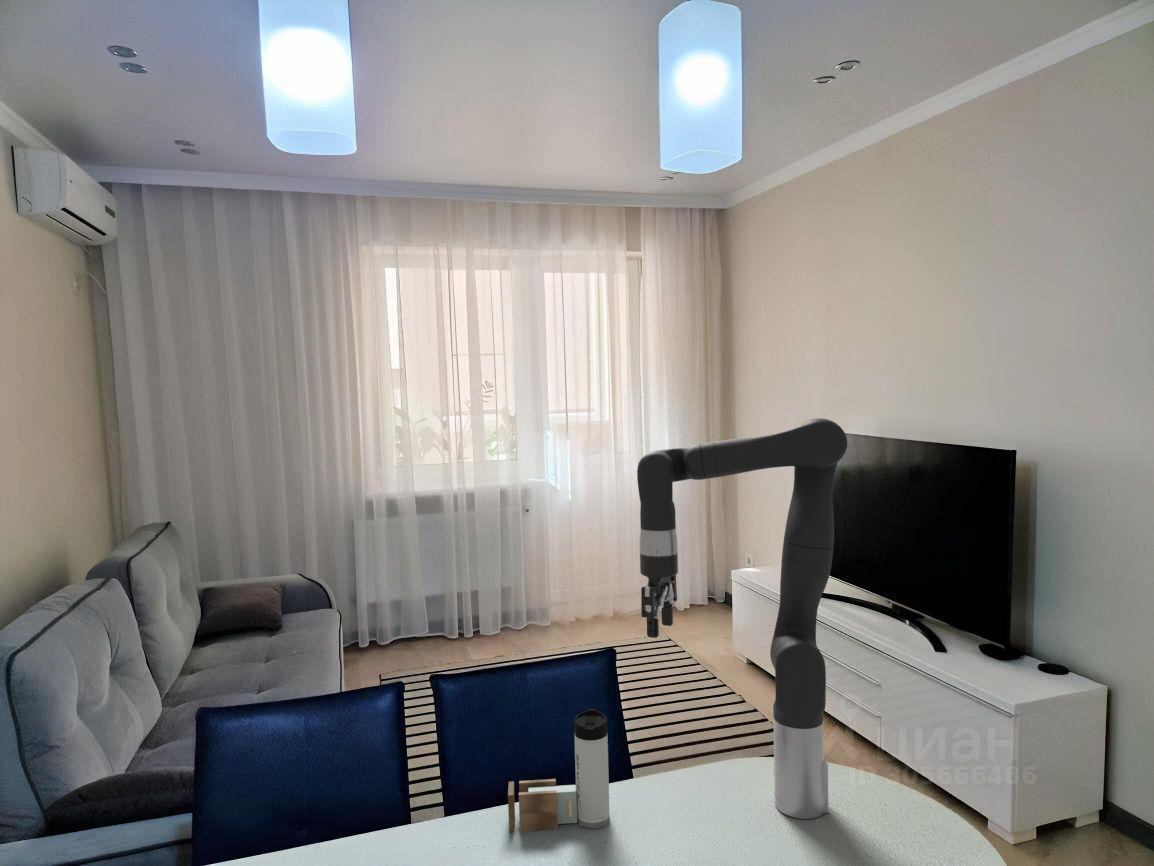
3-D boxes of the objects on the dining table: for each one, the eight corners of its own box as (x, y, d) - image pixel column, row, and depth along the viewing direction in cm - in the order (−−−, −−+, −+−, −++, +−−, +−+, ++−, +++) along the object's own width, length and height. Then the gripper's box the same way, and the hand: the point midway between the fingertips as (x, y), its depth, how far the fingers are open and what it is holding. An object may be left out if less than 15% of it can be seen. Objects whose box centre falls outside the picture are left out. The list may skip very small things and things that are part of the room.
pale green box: (576, 815, 140) (575, 784, 140) (577, 824, 137) (576, 792, 137) (529, 818, 140) (528, 787, 139) (529, 827, 137) (528, 795, 136)
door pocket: (556, 814, 141) (555, 778, 141) (557, 829, 136) (556, 792, 136) (509, 817, 141) (508, 781, 140) (509, 832, 136) (507, 795, 135)
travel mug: (610, 810, 142) (608, 708, 141) (608, 829, 136) (605, 723, 135) (578, 809, 143) (576, 708, 142) (574, 828, 136) (572, 722, 136)
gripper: (664, 559, 138) (666, 643, 139) (687, 545, 151) (689, 623, 152) (627, 556, 142) (629, 639, 142) (653, 543, 154) (655, 619, 155)
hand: (660, 630), depth 147 cm, fingers open, 8 cm apart
